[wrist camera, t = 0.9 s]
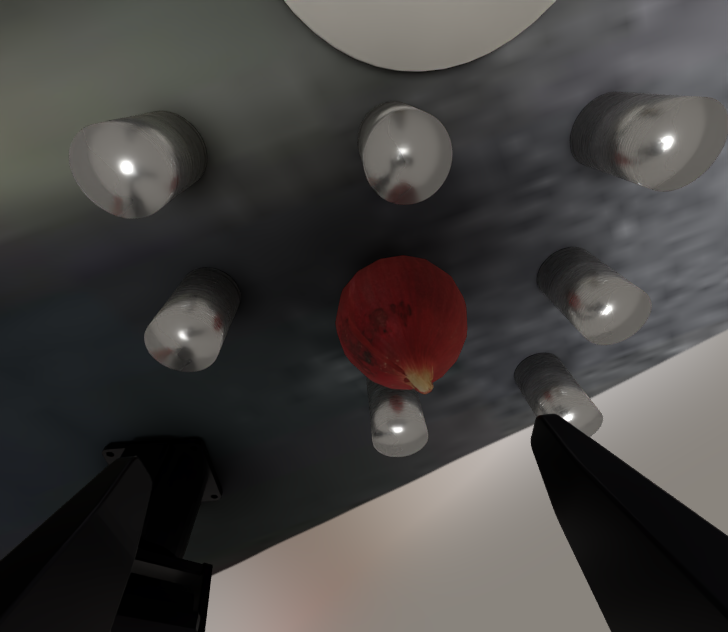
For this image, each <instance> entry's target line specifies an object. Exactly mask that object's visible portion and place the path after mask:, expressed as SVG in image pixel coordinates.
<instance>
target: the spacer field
mask: <svg viewBox="0 0 728 632" xmlns="http://www.w3.org/2000/svg"><path fill="white" fill-rule="evenodd" d="M727 135H728V114H727V111H726V109H725V108H724V106H723V105H722V104H721V103H720V102H718V101H717V100H715V99H713V98H708V97H694V96H678V95H661V94H645V93H628V92H610V93H606V94H604V95H601V96H599V97H598V98H596V99H594V100H593V101H592V102H590V103H589V104H588V105H587V106H586V107H585V108H584V109H583V111H582V112H581V113H580V115H579V116H578V118H577V119H576V121H575V123H574V126H573V129H572V132H571V137H570V146H571V151H572V153H573V155H574V157H575V158H576V160H577V161H578V162H580V163H581V164H583V165H586V166H589V167H591V168H594V169H597V170H600V171H602V172H605V173H608V174H611V175H613V176H616V177H619V178H622V179H624V180H627V181H630V182H633V183H635V184H638V185H641V186H644V187H646V188H649V189H652V190H655V191H662V192H665V191H672V190H676V189H679V188H682V187H684V186H686V185H688V184H690V183H691V182H693V181H694V180H696V179H697V178H699V177H700V176H701V175H702V174H703V173H704V172H705V171H706V170H707V169H708V168H709V167H710V166H711V165H712V164H713V163H714V161H715V160H716V158H717V157H718V155H719V154H720V152H721V150H722V148H723V146H724V144H725V141H726V139H727ZM357 144H358V150H359V154H360V157H361V161H362V164H363V168H364V171H365V174H366V177H367V180H368V182H369V184H370V186H371V187H372V188H373V190H374V191H375V192H376V193H377V194H378V195H379V196H380V197H382V198H383V199H385V200H387V201H389V202H391V203H395V204H400V205H409V204H415V203H418V202H421V201H423V200H425V199H427V198H429V197H430V196H432V195H433V194H434V193H435V192H436V191H437V190H438V189H439V188H440V187H441V186H442V184H443V183H444V181H445V180H446V178H447V176H448V173H449V171H450V167H451V163H452V144H451V140H450V137H449V135H448V132H447V131H446V129H445V127H444V126H443V125H442V123H441V122H440V121H439V120H438V119H436V118H435V117H434V116H432V115H430V114H429V113H427V112H424V111H422V110H419V109H417V108H415V107H412V106H410V105H407V104H405V103H402V102H397V101H389V102H384V103H381V104H379V105H377V106H376V107H374V108H373V109H371V110H370V111H369V112H368V113H367V115H366V116H365V117H364V119H363V121H362V122H361V125H360V127H359V131H358V137H357ZM69 163H70V168H71V171H72V174H73V176H74V178H75V181H76V182H77V184H78V186H79V187H80V189H81V190H82V191H83V193H84V194H85V195H86V196H87V197H88V198H89V199H90V200H91V201H92V202H93V203H95V204H96V205H97V206H99V207H100V208H102V209H103V210H105V211H107V212H109V213H111V214H113V215H116V216H119V217H123V218H130V219H137V218H144V217H147V216H150V215H152V214H154V213H155V212H157V211H158V210H159V209H161V208H162V207H163V206H165V205H166V204H167V203H169V202H170V201H171V200H173V199H174V198H175V197H176V196H178V195H179V194H180V193H182V192H183V191H184V190H186V189H187V188H188V187H190V186H191V185H192V184H194V183H195V182H196V181H197V180H199V179H200V177H201V176H202V175H203V173H204V171H205V169H206V165H207V151H206V147H205V144H204V142H203V139H202V137H201V136H200V134H199V133H198V131H197V130H196V129H195V128H194V126H193V125H192V124H191V123H189V122H188V121H187V120H186V119H184V118H183V117H181V116H179V115H177V114H174V113H171V112H167V111H155V112H150V113H145V114H140V115H135V116H130V117H125V118H120V119H115V120H110V121H105V122H100V123H95V124H91V125H88V126H86V127H84V128H83V129H81V130H80V131H79V132H78V133H77V134H76V135H75V137H74V138H73V140H72V143H71V145H70V150H69ZM537 283H538V287H539V289H540V290H541V292H542V293H543V294H544V295H545V296H546V297H547V298H548V299H549V300H550V301H551V302H552V303H553V304H554V305H555V306H556V307H557V308H558V309H559V311H560V312H561V313H562V314H563V315H564V316H565V317H566V318H567V319H568V320H569V321H570V322H571V323H572V324H573V325H574V326H575V327H576V329H577V330H578V331H579V332H580V333H581V334H582V335H583V336H584V337H585V338H586V339H587V340H588V341H590V342H591V343H594V344H597V345H610V344H615V343H618V342H620V341H623V340H625V339H627V338H629V337H630V336H632V335H633V334H635V333H636V332H637V331H638V330H639V329H640V328H641V327H642V326H643V325H644V324H645V322H646V321H647V319H648V317H649V315H650V312H651V300H650V298H649V296H648V295H647V294H646V293H645V292H644V291H642V290H641V289H640V288H638V287H637V286H635V285H634V284H632V283H631V282H630V281H628V280H627V279H625V278H624V277H623V276H621V275H620V274H618V273H617V272H615V271H614V270H613V269H611V268H610V267H608V266H607V265H605V264H604V263H603V262H601V261H600V260H598V259H597V258H596V257H594V256H593V255H591V254H590V253H588V252H587V251H586V250H584V249H581V248H577V247H570V248H565V249H562V250H560V251H557V252H556V253H554V254H553V255H551V256H550V257H549V258H548V259H547V260H546V261H545V262H544V263H543V265H542V266H541V268H540V270H539V272H538V277H537ZM240 300H241V295H240V290H239V288H238V286H237V284H236V282H235V281H234V280H233V279H232V278H231V277H230V276H228V275H227V274H226V273H224V272H222V271H220V270H217V269H213V268H199V269H196V270H193V271H191V272H190V273H189V274H187V275H186V277H185V278H184V279H183V280H182V282H181V283H180V284H179V286H178V287H177V288H176V290H175V291H174V292H173V294H172V295H171V296H170V298H169V299H168V300H167V302H166V303H165V304H164V306H163V307H162V308H161V310H160V311H159V312H158V314H157V315H156V316H155V318H154V319H153V320H152V322H151V323H150V324H149V326H148V327H147V329H146V332H145V336H144V340H145V345H146V347H147V349H148V351H149V353H150V354H151V355H152V356H153V358H155V359H156V360H157V361H158V362H159V363H161V364H163V365H164V366H166V367H168V368H171V369H174V370H177V371H183V372H195V371H200V370H203V369H205V368H207V367H209V366H210V365H211V364H212V363H213V362H214V361H215V360H216V358H217V356H218V354H219V351H220V349H221V346H222V344H223V342H224V339H225V337H226V335H227V332H228V330H229V328H230V325H231V323H232V320H233V318H234V316H235V313H236V311H237V309H238V306H239V304H240ZM514 379H515V382H516V383H517V385H518V387H519V389H520V390H521V392H522V394H523V395H524V397H525V399H526V401H527V402H528V404H529V406H530V407H531V409H532V411H533V413H534V414H535V416H536V417H537V416H538V415H543V414H557V415H559V416H561V417H562V418H563V419H565V420H566V421H568V422H569V423H570V424H572V425H573V426H575V427H576V428H577V429H579V430H580V431H582V432H583V433H584V434H586V435H587V436H589V437H590V436H592V435H593V434H594V433H595V432H596V431H597V430H598V429H599V428H600V426H601V424H602V421H603V416H602V414H601V412H600V411H599V410H598V408H597V407H596V406H595V405H594V403H593V402H592V401H591V399H590V398H589V397H588V396H587V394H586V393H585V392H584V390H583V389H582V388H581V387H580V385H579V384H578V383H577V381H576V380H575V379H574V378H573V376H572V375H571V374H570V373H569V371H568V370H567V369H566V367H565V366H564V365H563V364H562V362H561V361H560V360H559V359H558V357H556V356H555V355H552V354H549V353H540V354H536V355H533V356H530V357H528V358H527V359H525V360H524V361H522V362H521V363H520V364H519V366H518V367H517V368H516V370H515V374H514ZM367 390H368V401H369V411H370V421H371V431H372V441H373V445H374V447H375V449H376V450H377V451H378V452H380V453H382V454H384V455H386V456H391V457H403V456H408V455H411V454H414V453H416V452H417V451H419V450H420V449H422V448H423V447H424V445H425V444H426V442H427V440H428V431H427V427H426V423H425V419H424V415H423V411H422V407H421V404H420V400H419V396H418V392H417V391H416V390H415V389H412V390H405V389H391V388H388V387H385V386H383V385H380V384H377V383H375V382H373V381H371V380H370V379H369V378H367Z"/></svg>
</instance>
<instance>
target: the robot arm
mask: <svg viewBox="0 0 728 632" xmlns="http://www.w3.org/2000/svg"><path fill="white" fill-rule="evenodd" d="M531 447H532V450H533V453H534V456H535V459H536V461H537V464H538V467H539V470H540V472H541V475H542V478H543V481H544V484H545V487H546V490H547V492H548V495H549V498H550V501H551V504H552V506H553V509H554V511H555V514H556V516H557V519H558V521H559V523H560V525H561V527H562V529H563V532H564V534H565V536H566V538H567V540H568V542H569V544H570V546H571V548H572V550H573V552H574V555H575V557H576V559H577V561H578V563H579V565H580V567H581V569H582V571H583V574H584V576H585V578H586V580H587V582H588V584H589V586H590V588H591V590H592V592H593V595H594V596H595V599H596V601H597V602H598V605H599V607H600V609H601V611H602V613H603V615H604V618H605V620H606V622H607V624H608V626H609V628H610V630H611V632H728V536H727V535H726V534H724V533H723V532H722V531H720V530H719V529H717V528H716V527H715V526H713V525H712V524H710V523H709V522H708V521H706V520H705V519H704V518H702V517H701V516H699V515H698V514H697V513H695V512H694V511H692V510H691V509H690V508H688V507H687V506H685V505H684V504H683V503H681V502H680V501H678V500H677V499H676V498H674V497H673V496H671V495H670V494H669V493H667V492H666V491H664V490H663V489H662V488H660V487H659V486H657V485H656V484H655V483H653V482H652V481H650V480H649V479H647V478H646V477H645V476H643V475H642V474H640V473H639V472H638V471H636V470H635V469H634V468H632V467H631V466H629V465H628V464H627V463H625V462H624V461H622V460H621V459H619V458H618V457H617V456H615V455H614V454H612V453H611V452H610V451H608V450H607V449H606V448H604V447H603V446H601V445H600V444H599V443H597V442H596V441H594V440H593V439H591V438H590V437H589V436H587V435H586V434H584V433H583V432H582V431H580V430H579V429H577V428H576V427H575V426H573V425H572V424H570V423H569V422H568V421H566V420H565V419H563V418H562V417H561V416H559V415H557V414H543V415H538V416H537V417H536V420H535V423H534V428H533V432H532V436H531ZM102 455H103V456H104V458H105V460H106V461H107V463H108V464H109V465H108V466H107V467H106V468H105V469H104V470H103V471H102V472H100V473H99V474H98V475H97V476H96V477H95V478H94V479H92V480H91V481H90V482H89V483H88V484H87V485H86V486H85V487H83V488H82V489H81V490H80V491H79V492H78V493H77V494H75V495H74V496H73V497H72V498H71V499H70V500H69V501H67V502H66V503H65V504H64V505H63V506H62V507H61V508H60V509H58V510H57V511H56V512H55V513H54V514H53V515H52V516H50V517H49V518H48V519H47V520H46V521H45V522H44V523H43V524H41V525H40V526H39V527H38V528H37V529H36V530H35V531H33V532H32V533H31V534H30V535H29V536H28V537H27V538H25V539H24V540H23V541H22V542H21V543H20V544H19V545H18V546H16V547H15V548H14V549H13V550H12V551H11V552H10V553H8V554H7V555H6V556H5V557H4V558H3V559H2V560H0V632H205V626H206V618H207V609H208V601H209V592H210V583H211V575H212V565H211V564H207V563H203V564H200V563H196V562H192V561H188V560H185V559H183V557H184V554H185V551H186V548H187V544H188V541H189V538H190V535H191V532H192V529H193V526H194V522H195V519H196V516H197V513H198V510H199V507H200V503H201V502H204V501H216V500H219V499H221V496H222V489H221V487H220V484H219V481H218V479H217V476H216V474H215V471H214V469H213V466H212V464H211V461H210V458H209V456H208V453H207V451H206V448H205V446H204V443H203V442H202V441H201V440H199V439H181V440H167V441H153V442H139V443H124V444H110V445H107V446H106V447H105V448H104V450H103V452H102Z"/></svg>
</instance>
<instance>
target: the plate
mask: <svg viewBox="0 0 728 632" xmlns="http://www.w3.org/2000/svg"><path fill="white" fill-rule="evenodd" d="M555 1H556V0H284V2H285V3H286V4H287V5H288V6H289V8H290V9H291V10H292V11H293V13H294V14H295V15H296V16H297V17H298V18H299V19H300V20H301V21H302V22H303V23H304V24H305V25H306V26H307V27H308V28H309V29H310V30H311V31H313V32H314V33H315V34H316V35H317V36H319V37H320V38H321V39H323V40H324V41H325V42H327V43H328V44H329V45H331V46H332V47H333V48H335V49H337V50H339V51H340V52H342V53H344V54H346V55H348V56H350V57H352V58H353V59H356V60H358V61H361V62H364V63H366V64H369V65H372V66H375V67H379V68H384V69H389V70H394V71H414V72H419V71H430V70H438V69H446V68H450V67H453V66H457V65H460V64H464V63H468V62H470V61H472V60H475V59H477V58H479V57H482V56H484V55H486V54H488V53H490V52H492V51H494V50H495V49H497V48H499V47H500V46H502V45H504V44H505V43H507V42H509V41H510V40H512V39H513V38H515V37H516V36H517V35H518V34H520V33H521V32H522V31H524V30H525V29H526V28H527V27H529V26H530V25H531V24H533V23H534V22H535V21H536V20H537V19H538V18H539V17H540V16H541V15H542V14H543V13H544V12H545V11H546V10H547V9H548V8H549V7H550V6H551V5H552V4H553V3H554V2H555Z"/></svg>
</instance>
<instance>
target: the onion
mask: <svg viewBox="0 0 728 632" xmlns="http://www.w3.org/2000/svg"><path fill="white" fill-rule="evenodd" d="M335 324H336V329H337V334H338V337H339V340H340V342H341V345H342V348H343V350H344V353H345V355H346V356H347V358H348V359H349V361H350V362H351V363H352V364H353V365H355V366H356V367H357V368H358V369H359V370H360V371H361V372H362V373H363V374H364V375H365V376H366V377H367V378H369V379H370V380H371V381H373V382H375V383H377V384H380V385H383V386H385V387H388V388H391V389H405V390H412V389H415V390H416V391H418V392H420V393H422V394H427V393H430V392H431V391H432V389H433V387H434V386H433V382H434V381H436V380H438V379H439V378H441V377H442V376H443V375H444V374H445V373H446V372H447V371H448V370H449V368H450V367H451V366H452V365H453V364H454V363H455V362H456V361H457V359H458V357H459V354H460V352H461V349H462V347H463V344H464V342H465V339H466V337H467V312H466V304H465V301H464V298H463V296H462V294H461V292H460V291H459V289H458V287H457V285H456V284H455V282H454V280H453V279H452V277H451V276H450V275H449V274H447V273H446V272H444V271H443V270H441V269H440V268H438V267H437V266H435V265H434V264H432V263H430V262H429V261H427V260H426V259H422V258H416V257H411V256H405V255H401V256H395V257H389V258H383V259H379V260H377V261H375V262H374V263H372V264H370V265H368V266H366V267H365V268H363V269H361V270H359V271H358V272H357V273H356V274H355V275H354V276H353V278H352V279H351V280H350V281H349V282H348V284H347V285H346V286H345V287H344V288H343V290H342V293H341V297H340V302H339V307H338V312H337V317H336V322H335Z"/></svg>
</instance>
